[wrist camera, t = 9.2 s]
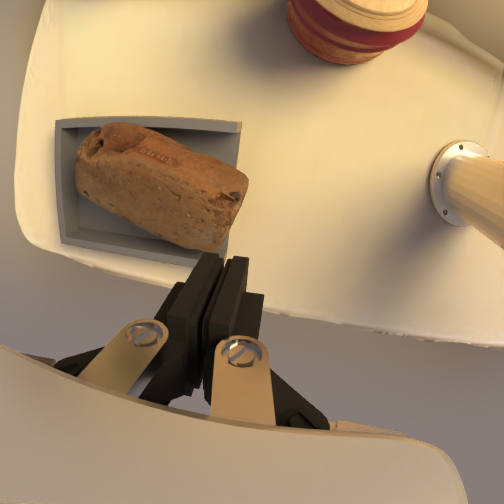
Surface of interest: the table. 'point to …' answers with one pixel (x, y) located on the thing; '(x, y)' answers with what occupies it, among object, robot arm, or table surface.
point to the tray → (111, 226)
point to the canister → (354, 26)
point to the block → (160, 185)
